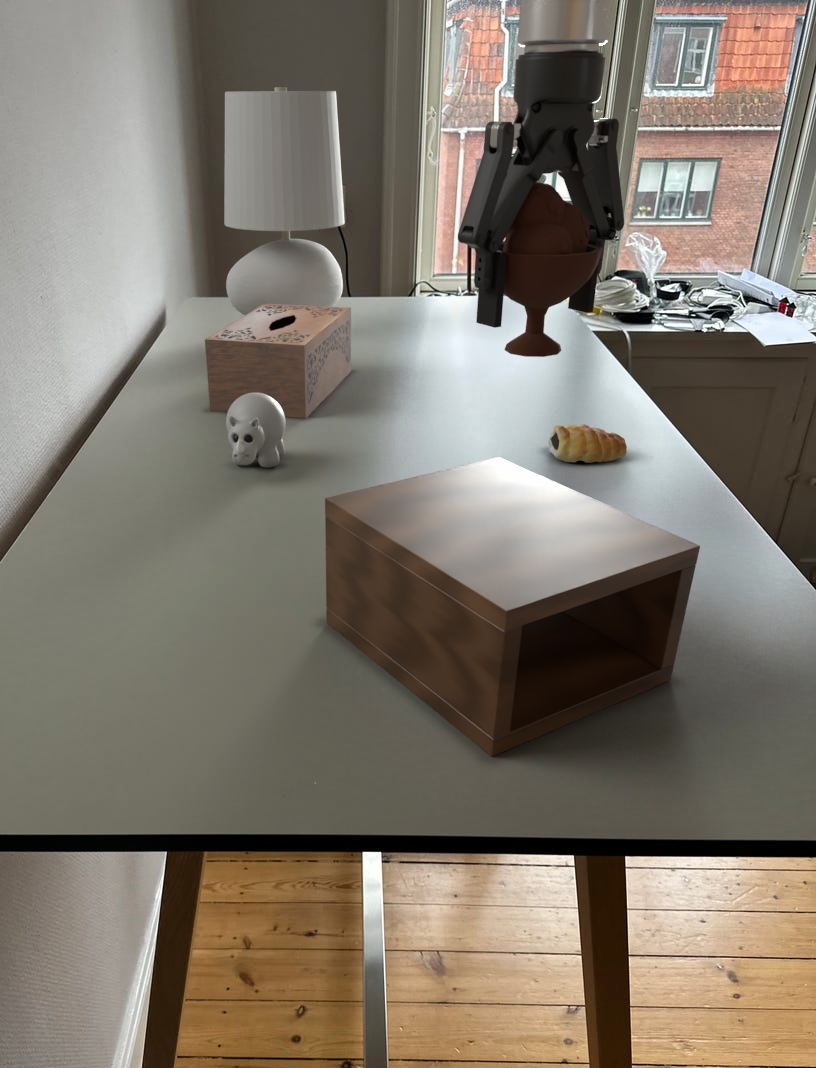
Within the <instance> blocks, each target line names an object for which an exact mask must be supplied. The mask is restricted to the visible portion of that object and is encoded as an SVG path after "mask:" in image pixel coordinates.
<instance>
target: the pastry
mask: <svg viewBox="0 0 816 1068" xmlns="http://www.w3.org/2000/svg"><path fill="white" fill-rule="evenodd" d="M548 437H549V438H548V440H547V441H548V442H547V443H548V445H549V448H548V449H549V453H551V454H552V455H553V456H554V458H556V459H557V460H559V461H562V462H565V463H577V462H578V461H582V462H584V463H594V462H595V463H602V462H604V463H607V462H613V461H616V460H618V459H620V458H624V457H625V456H626V454H627V450H628V449H627V447H628V446H627V443H626V440H625V438H624V437H622V436H621V435H619V434H618V433H615V432H607V431H606V430H604V429H603V428H599V427H593V426H589V425H587V424H579V425H574V424H566V425H555V426H554V427H553V430H552V431H551V433H550V435H549V436H548Z"/></svg>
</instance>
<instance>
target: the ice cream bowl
mask: <svg viewBox="0 0 816 1068" xmlns="http://www.w3.org/2000/svg"><path fill="white" fill-rule="evenodd" d="M589 226H590V223H589V221H588V220H587V219H586V218H585V217H584V215H583V214H582V213H581V212H580V211H579V210H578V209H577V208H576V207H575V206H574V205H573V204H572V202H568V201H567V200H564V199H563V198H562V196H561V194H560V193H559V192H558V191H557V190H556V188H554V187H553V185H552V184H549V183H544V182H539V181H537V182H535V183H534V184H533V185H532V187H531V189H530V191H529V193H528V195H527V197H526V199H525V200H524V202H523V204H522V206H521V208H520V210H519V212H518V214H517V216H516V218H515V219H514V221H513V223H512V225H511V227H510V229H509V231H508V233H507V235H506V237H505V238H504V240H503V242H502V244H501V246H500V248H499V249H498V251H504V252H507V256H506V269H505V282H504V295H505V296H506V297H507V298H508V299H510V300H511V301H513V302H515V303H517V304H519V305H521V306H522V307H524V310H525V313H526V320H525V321H526V322H525V330H524V332H523V333H521V334H519V335H517V336H516V337H514V338H513V339H511V340H509V342H507V343H506V344H505V347H504V351H505V352H507V354H510V355H515V356H520V357H526V358H527V357H532V358H533V357H534V358H545V357H551V356H558V354H560V353H561V352H562V347H561V344H560V343H558V342H557V341H556V340H554V339H553V338H552V337H550V336H549V335H547V333H545V319H546V318H545V317H546V314H547V313H548V311H549V308H551V307H554V306H556V305H558V304H562V303H563V302H564V301H566V300H567V299H569V297H570V296H572V295H573V294H574V293H575V292H577V291H578V290H579V289H580V288H581V287H582V286H583V285H584V284H585V283H586V282H587V281H588V280H589V279H590V278H591V276H592V274H593V272H594V271H595V269H596V267H597V265H598V263H599V259H600V256H601V253H602V250H603V248H602V247H600V246H596V245H593V244H589V243H588V241H589Z"/></svg>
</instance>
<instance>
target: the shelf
mask: <svg viewBox="0 0 816 1068" xmlns="http://www.w3.org/2000/svg"><path fill="white" fill-rule="evenodd" d="M324 515H325V516H324V517H325V519H324V521H325V523H324V524H325V527H324V528H325V596H326V597H325V598H326V604H325V606H326V608H325V609H326V610H325V611H326V612H325V613H326V624H328V625H329V626H330V627H331V628H333V629H334V630H335V631H336V632H337V633H339V634H340V635H341V636H343V637H344V639H346V640H347V641H348V642H350V643H351V644H352V645H353V646H355V647H356V648H357V649H359V650H360V651H361V652H362V653H363V654H365V655H366V656H367V657H368V658H369V659H371V660H372V661H373V662H375V663H376V664H377V665H378V666H379V667H381V668H382V669H383V670H384V671H385V672H387V673H388V674H389V675H390V676H392V677H393V678H394V679H396V681H397V682H399V683H400V684H402V685H403V686H404V687H406V689H408V690H409V691H410V692H411V693H412V694H414V695H415V696H417V697H418V698H419V699H420V700H421V701H422V702H424V703H425V704H426V705H427V706H429V707H430V708H431V709H432V710H433V711H435V712H436V713H437V714H439V715H440V716H441V717H442V718H444V720H446V721H447V722H449V723H450V725H452V726H453V727H454V728H456V729H457V730H458V731H459V732H461V733H462V734H463V735H464V736H465V737H467V738H468V739H469V740H471V741H472V742H473V743H474V744H475V745H477V746H478V747H479V748H480V749H482V750H483V751H484V752H486V753H487V754H488V755H489V756H490V757H495V756H497V755H499V754H501V753H503V752H505V751H508V750H511V749H513V748H515V747H518V746H520V745H523V744H524V743H527V742H530V741H531V740H534V739H537V738H539V737H541V736H543V735H546V734H548V733H552V732H553V731H554V730H557V729H560V728H562V727H565V726H567V725H570V724H572V723H574V722H577V721H579V720H581V719H583V718H585V717H588V716H590V715H593V714H595V713H597V712H600V711H602V710H604V709H607V708H609V707H611V706H614V705H616V704H618V703H621V702H623V701H625V700H627V699H630V698H632V697H635V696H637V695H639V694H642V693H644V692H646V691H648V690H651V689H653V688H656V687H658V686H661V685H663V684H665V683H667V682H669V681H671V680H672V677H673V671H674V667H675V662H676V657H677V652H678V648H679V643H680V640H681V635H682V630H683V625H684V620H685V617H686V612H687V608H688V604H689V597H690V594H691V588H692V585H693V581H694V575H695V571H696V565H697V563H698V558H699V553H700V549H701V545H699V544H697V543H695V542H692V541H691V540H688V539H686V538H684V537H681V536H680V535H677V534H675V533H673V532H670V531H667V530H665V529H664V528H661V527H659V526H656V525H654V524H652V523H650V522H647V521H645V520H642V519H640V518H639V517H636V516H634V515H631V514H629V513H627V512H624V511H623V510H620V509H617V508H615V507H613V506H611V505H609V504H607V503H605V502H602V501H600V500H597V499H595V498H592V497H591V496H588V495H586V494H583V493H581V492H579V491H577V490H575V489H573V488H570V487H568V486H565V485H563V484H561V483H559V482H556V481H554V480H552V479H549V478H547V477H546V476H543V475H541V474H539V473H536V472H534V471H531V470H529V469H526V468H524V467H523V466H520V465H518V464H516V463H513V462H511V461H509V460H506V459H504V458H502V457H499V456H495V457H491V458H488V459H487V458H486V459H482V460H479V461H475V462H471V463H470V462H469V463H466V464H462V465H458V466H454V467H450V468H446V469H441V470H437V471H434V472H429V473H424V474H422V475H421V474H420V475H416V476H412V477H407V478H404V479H400V480H395V481H391V482H387V483H381V484H378V485H375V486H370V487H365V488H362V489H358V490H354V491H349V492H344V493H341V494H336V495H332V496H329V497H328V496H327V497H325V498H324Z"/></svg>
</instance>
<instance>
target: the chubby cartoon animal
mask: <svg viewBox="0 0 816 1068" xmlns="http://www.w3.org/2000/svg"><path fill="white" fill-rule="evenodd" d="M286 424H287V421H286V417H285V415H284V412H283V410H282V408H281V406H280V405H279V404H278V403H277V401H275V400H274V399H273V398H272V397H270V396H268V395H266V394H263V393H248V394H245V395H242V396H241V397H239V398H238V399H236V400H235V401H234V402H233V404H232V405H231V406H230V408H229V410H228V412H226V418H225V427H226V432H227V435H228V442H229V445H230V446H231V448H232V453H231V461H232V463H234V464H235V465H237V466H248V465H251V464H252V463H254V461H255V460H256V459H257V460H258V464H259V466H260V467H262V468H266V469H268V468H269V469H270V468H273V467H276V466H278V465H279V464H280V458H282V457H283V456H284V455H285V454H286V453H285V452H286V448H285V443H284V440H283V437H284V435H285V432H286V427H287V425H286Z"/></svg>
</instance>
